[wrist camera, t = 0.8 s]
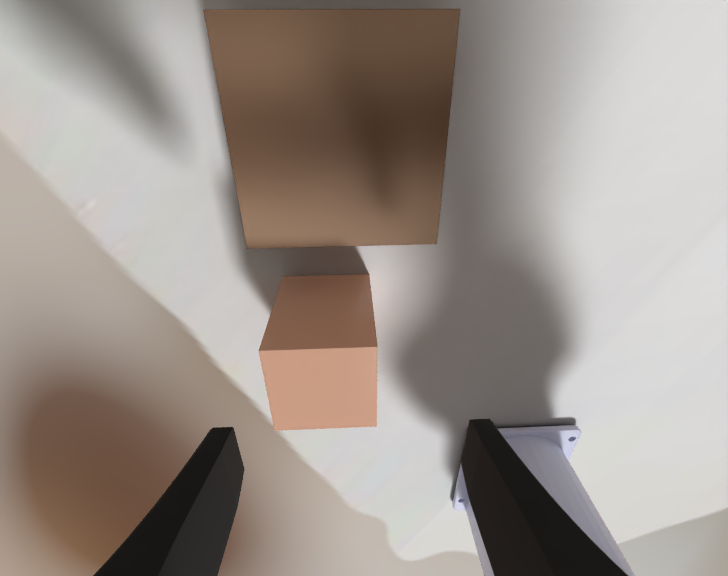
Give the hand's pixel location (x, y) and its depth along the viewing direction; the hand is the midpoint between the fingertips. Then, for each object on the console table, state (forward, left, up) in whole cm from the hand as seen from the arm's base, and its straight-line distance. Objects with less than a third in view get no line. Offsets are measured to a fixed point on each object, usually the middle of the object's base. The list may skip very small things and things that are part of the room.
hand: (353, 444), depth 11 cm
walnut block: (+8, 0, -10) cm, 12 cm away
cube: (-1, +1, -10) cm, 10 cm away
